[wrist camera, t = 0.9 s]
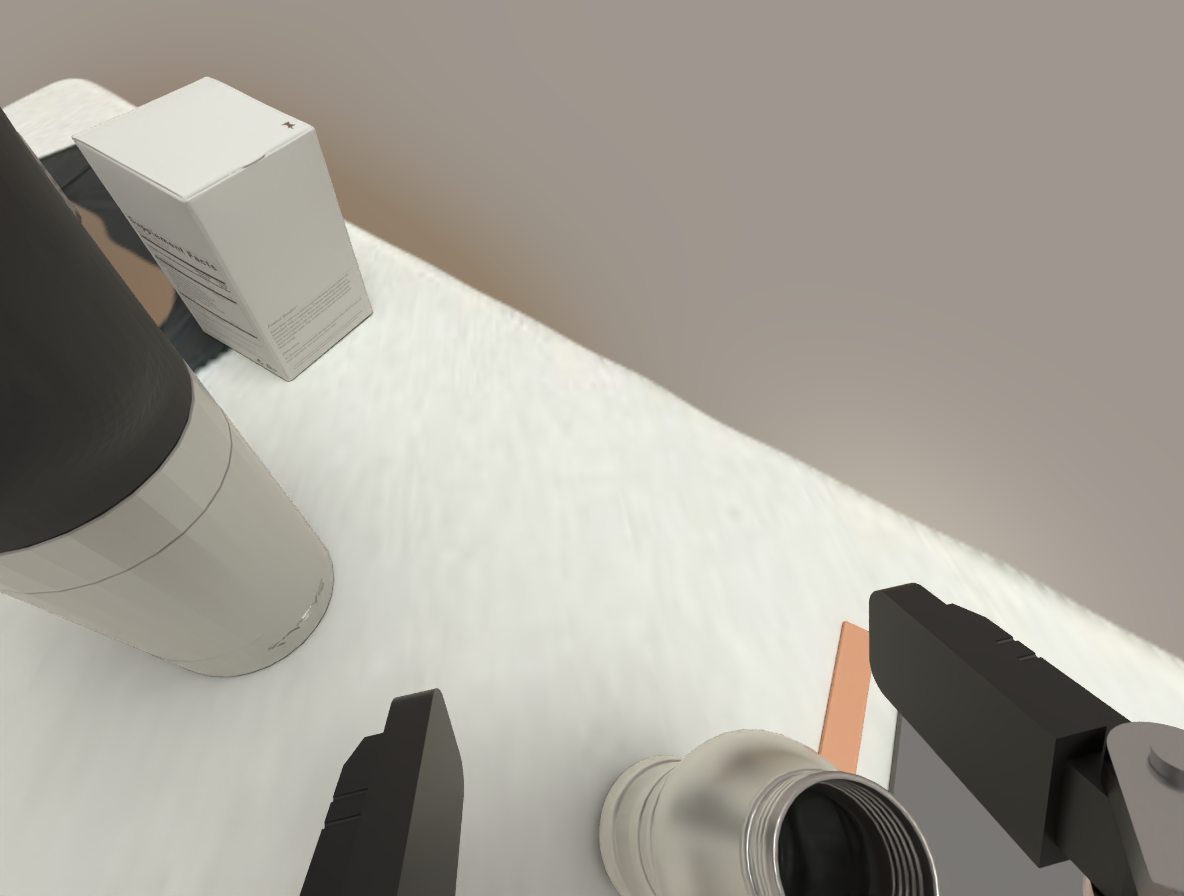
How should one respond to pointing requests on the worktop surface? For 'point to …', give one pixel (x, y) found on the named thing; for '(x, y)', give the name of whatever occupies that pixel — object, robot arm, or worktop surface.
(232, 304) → the supplement box
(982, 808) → the mat
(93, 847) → the worktop surface
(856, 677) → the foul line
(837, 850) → the plastic bottle
